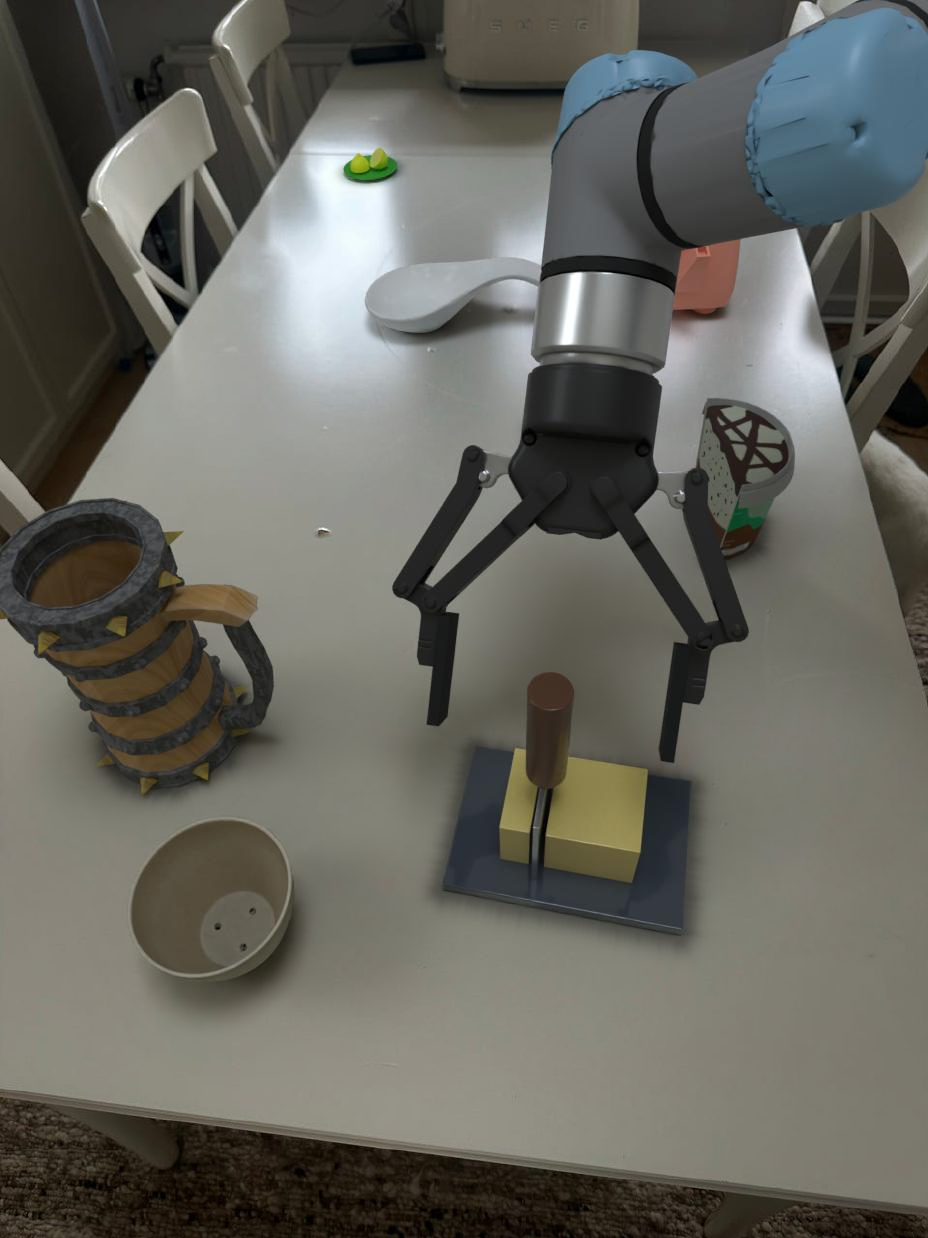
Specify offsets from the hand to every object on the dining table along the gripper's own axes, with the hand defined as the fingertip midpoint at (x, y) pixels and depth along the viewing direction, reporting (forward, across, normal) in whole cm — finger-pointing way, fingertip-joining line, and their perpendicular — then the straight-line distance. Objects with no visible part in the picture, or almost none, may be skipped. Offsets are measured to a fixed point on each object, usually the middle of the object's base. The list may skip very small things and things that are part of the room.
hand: (549, 738), depth 51 cm
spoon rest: (-35, +19, -54) cm, 67 cm away
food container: (-14, -13, -34) cm, 39 cm away
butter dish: (+9, -2, -10) cm, 13 cm away
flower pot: (+17, +19, -2) cm, 26 cm away
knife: (+9, 0, -9) cm, 12 cm away
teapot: (-41, -5, -60) cm, 73 cm away
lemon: (-61, +41, -80) cm, 108 cm away
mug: (+7, +28, -12) cm, 31 cm away
